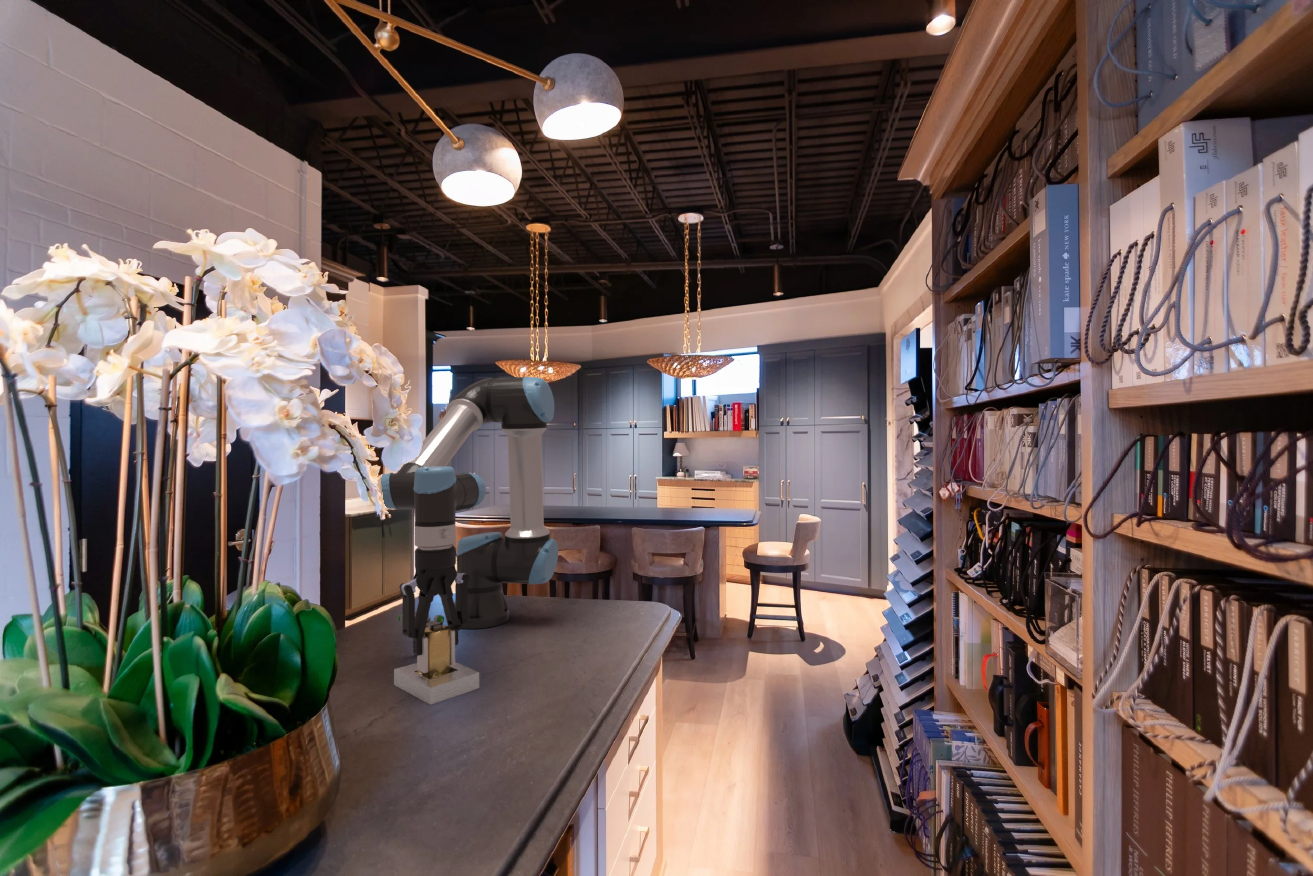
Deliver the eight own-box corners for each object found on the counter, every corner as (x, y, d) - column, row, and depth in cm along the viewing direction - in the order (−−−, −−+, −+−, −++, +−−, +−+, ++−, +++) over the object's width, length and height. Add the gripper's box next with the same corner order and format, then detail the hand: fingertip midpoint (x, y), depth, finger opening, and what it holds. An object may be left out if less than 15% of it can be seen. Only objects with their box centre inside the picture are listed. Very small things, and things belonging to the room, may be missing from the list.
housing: (394, 689, 123) (393, 669, 123) (441, 675, 130) (441, 655, 130) (430, 710, 114) (430, 688, 114) (479, 693, 121) (479, 672, 121)
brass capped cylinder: (417, 686, 122) (417, 624, 122) (441, 679, 126) (441, 618, 126) (431, 693, 119) (430, 629, 119) (455, 685, 122) (454, 623, 122)
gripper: (399, 555, 113) (400, 685, 113) (486, 542, 126) (487, 659, 126) (380, 550, 118) (381, 675, 118) (466, 538, 131) (467, 650, 131)
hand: (436, 666), depth 122 cm, fingers closed on brass capped cylinder, 5 cm apart
